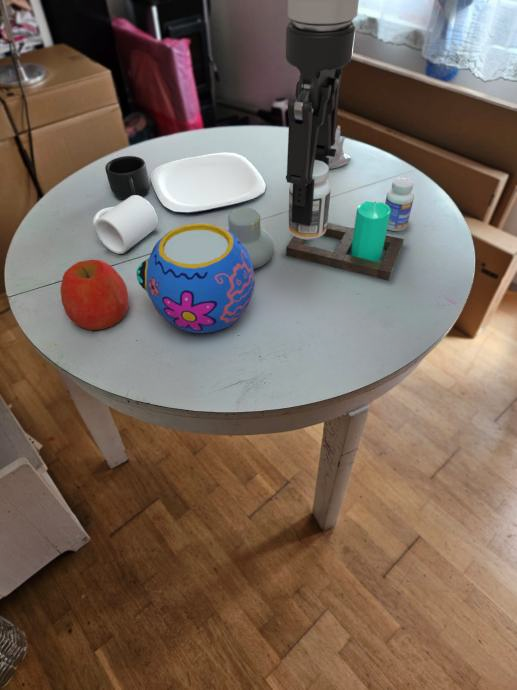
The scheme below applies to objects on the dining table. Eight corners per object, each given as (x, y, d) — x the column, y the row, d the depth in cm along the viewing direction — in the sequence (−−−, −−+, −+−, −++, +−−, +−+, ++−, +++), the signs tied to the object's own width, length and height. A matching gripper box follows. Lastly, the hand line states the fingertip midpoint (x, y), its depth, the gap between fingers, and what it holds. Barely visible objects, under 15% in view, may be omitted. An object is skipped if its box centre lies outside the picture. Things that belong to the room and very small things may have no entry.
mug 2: (161, 234, 99) (154, 200, 94) (129, 259, 94) (120, 224, 88) (119, 219, 104) (110, 185, 98) (86, 242, 98) (74, 208, 92)
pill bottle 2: (399, 235, 97) (409, 192, 90) (376, 226, 100) (384, 183, 93) (411, 223, 100) (422, 181, 93) (389, 215, 103) (397, 173, 95)
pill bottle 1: (305, 215, 73) (308, 153, 66) (334, 229, 70) (341, 166, 63) (280, 231, 70) (281, 167, 63) (309, 246, 68) (314, 182, 60)
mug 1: (110, 188, 113) (102, 159, 108) (147, 181, 115) (141, 152, 110) (117, 213, 106) (109, 183, 100) (156, 205, 107) (151, 176, 102)
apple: (107, 286, 88) (91, 238, 80) (145, 310, 83) (132, 262, 76) (58, 317, 83) (36, 269, 75) (96, 346, 78) (76, 297, 70)
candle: (387, 255, 93) (399, 200, 84) (369, 269, 90) (380, 214, 81) (361, 243, 96) (370, 189, 87) (344, 257, 93) (351, 202, 84)
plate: (240, 153, 124) (239, 147, 123) (276, 200, 108) (276, 193, 106) (145, 171, 118) (143, 165, 117) (168, 224, 102) (166, 217, 101)
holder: (402, 247, 95) (404, 238, 93) (388, 280, 88) (390, 272, 86) (305, 225, 101) (306, 217, 99) (286, 255, 94) (286, 247, 92)
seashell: (329, 174, 115) (332, 136, 109) (294, 158, 122) (296, 121, 115) (356, 161, 120) (361, 123, 113) (321, 146, 126) (324, 109, 119)
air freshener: (280, 256, 93) (281, 211, 86) (260, 280, 89) (259, 235, 81) (233, 241, 97) (230, 197, 90) (211, 263, 92) (206, 218, 85)
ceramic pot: (193, 272, 91) (182, 201, 80) (274, 301, 84) (274, 230, 73) (134, 328, 81) (112, 256, 70) (220, 366, 74) (211, 295, 63)
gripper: (315, -1, 58) (305, 176, 75) (255, 42, 46) (259, 240, 63) (375, 3, 56) (351, 185, 73) (328, 49, 44) (313, 252, 61)
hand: (308, 210), depth 68 cm, fingers closed on pill bottle 1, 6 cm apart
